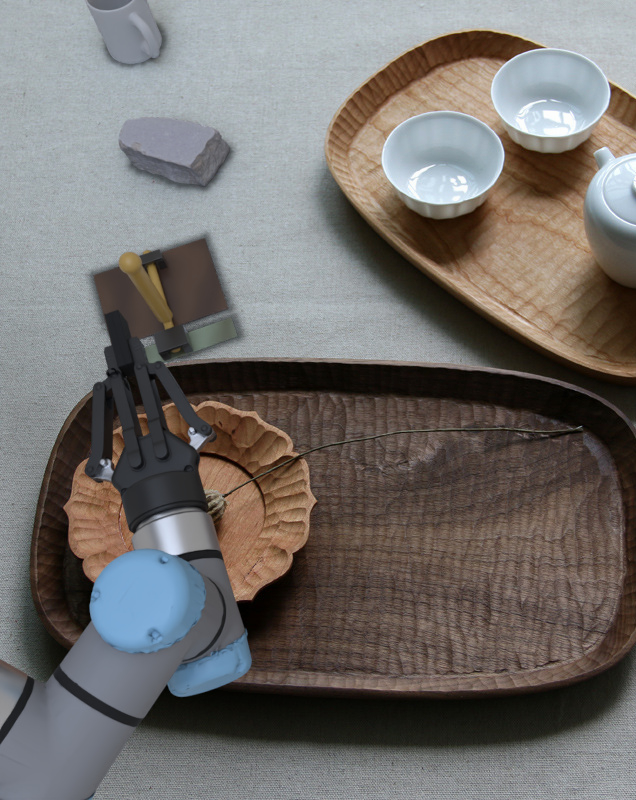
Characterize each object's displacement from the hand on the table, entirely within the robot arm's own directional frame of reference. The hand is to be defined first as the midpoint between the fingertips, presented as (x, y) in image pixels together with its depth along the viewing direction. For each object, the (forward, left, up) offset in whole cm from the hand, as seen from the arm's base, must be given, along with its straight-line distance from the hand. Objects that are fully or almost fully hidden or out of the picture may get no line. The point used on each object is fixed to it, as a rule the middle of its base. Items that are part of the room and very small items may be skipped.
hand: (115, 318), depth 85 cm
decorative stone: (+10, +35, -22) cm, 43 cm away
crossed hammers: (+2, +13, -20) cm, 24 cm away
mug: (+10, +59, -22) cm, 64 cm away
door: (+2, +13, -22) cm, 25 cm away
